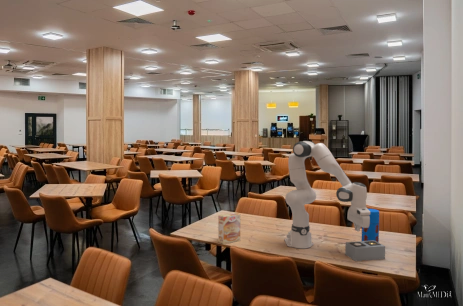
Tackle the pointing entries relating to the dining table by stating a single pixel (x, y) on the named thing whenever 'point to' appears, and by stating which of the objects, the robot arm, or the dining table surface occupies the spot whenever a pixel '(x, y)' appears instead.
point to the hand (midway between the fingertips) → (357, 230)
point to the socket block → (365, 250)
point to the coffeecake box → (229, 228)
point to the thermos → (372, 227)
